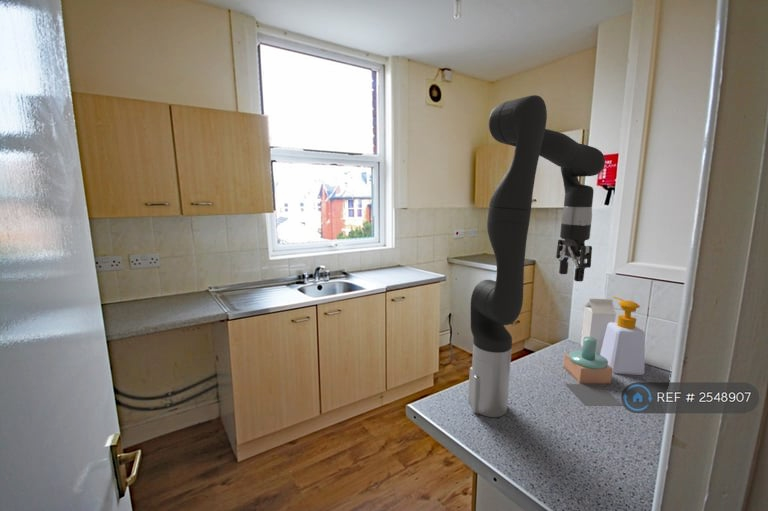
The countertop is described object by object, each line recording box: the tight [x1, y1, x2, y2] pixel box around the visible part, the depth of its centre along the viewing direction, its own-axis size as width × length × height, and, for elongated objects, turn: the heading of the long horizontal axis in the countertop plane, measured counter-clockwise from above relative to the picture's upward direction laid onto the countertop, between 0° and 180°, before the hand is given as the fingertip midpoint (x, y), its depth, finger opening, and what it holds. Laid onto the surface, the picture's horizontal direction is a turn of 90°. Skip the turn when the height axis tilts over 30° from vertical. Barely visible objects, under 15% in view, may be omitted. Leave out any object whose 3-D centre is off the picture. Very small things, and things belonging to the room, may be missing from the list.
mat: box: [564, 383, 624, 407], centre depth 93 cm, size 10×10×1 cm
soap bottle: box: [600, 296, 646, 376], centre depth 108 cm, size 10×14×22 cm
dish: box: [563, 353, 613, 384], centre depth 102 cm, size 9×9×5 cm
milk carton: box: [580, 298, 617, 355], centre depth 118 cm, size 7×7×19 cm
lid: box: [568, 337, 608, 369], centre depth 101 cm, size 10×10×7 cm
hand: (570, 277), depth 100 cm, fingers open, 8 cm apart
